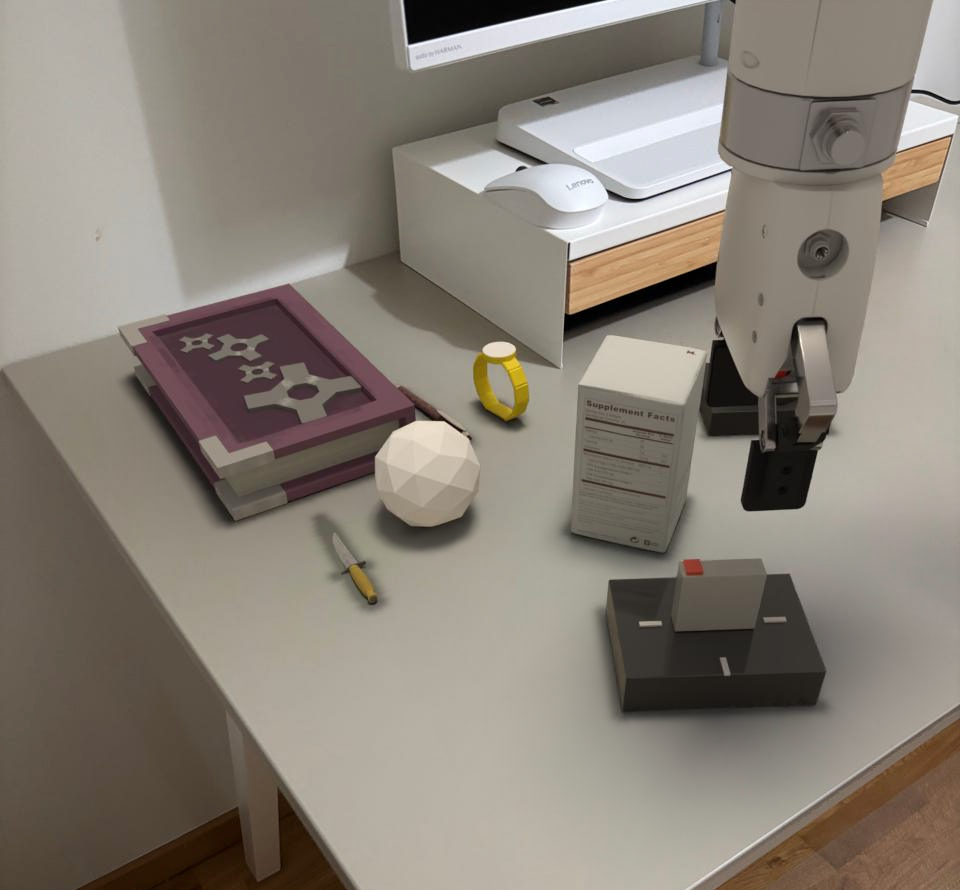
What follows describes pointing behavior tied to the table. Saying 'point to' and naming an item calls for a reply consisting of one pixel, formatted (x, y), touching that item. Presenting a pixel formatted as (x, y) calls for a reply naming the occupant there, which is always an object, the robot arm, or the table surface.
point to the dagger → (354, 569)
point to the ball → (427, 473)
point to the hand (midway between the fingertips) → (750, 452)
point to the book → (266, 396)
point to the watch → (507, 358)
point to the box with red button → (718, 594)
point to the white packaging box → (635, 440)
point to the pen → (433, 411)
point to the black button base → (743, 412)
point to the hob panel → (710, 651)
